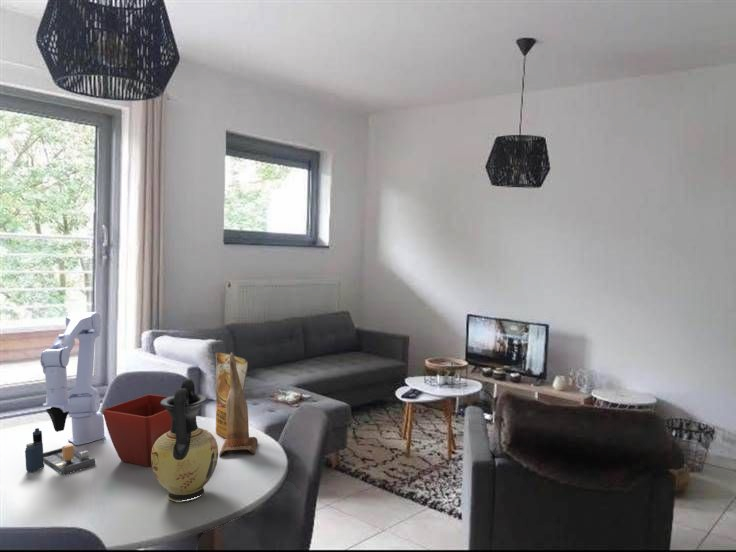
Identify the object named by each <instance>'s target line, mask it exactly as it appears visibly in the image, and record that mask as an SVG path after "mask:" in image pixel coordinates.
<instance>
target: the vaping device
mask: <svg viewBox="0 0 736 552" xmlns="http://www.w3.org/2000/svg"><path fill="white" fill-rule="evenodd" d="M43 453H44V443H43V432H42V430H40V428H34V431H33V432H32V442H29V443H27V444H26V446H25V450H24V456H25V469H26V471H27V473H34V472H36V471H39V470H41V469H42V468H44V467H45V462H44V458H43ZM40 468H41V469H40ZM38 469H39V470H38Z"/></svg>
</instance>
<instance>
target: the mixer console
mask: <svg viewBox="0 0 736 552" xmlns="http://www.w3.org/2000/svg"><path fill="white" fill-rule="evenodd" d="M43 458H44V463H46V464H47V465H48V466H50V467H51V468H53V469H54V470H56V471H57V470H58V471H57V472H59V473H60V472H61V474H62V475H63V474H65V475H68V474H71V473H70V472H72V473H74V472H73V471H75V472H77V470H78V471H81V470H84V468H85V469H87V468H91V467H94V466H96V458H95V457H93V458H90V453H89V451H88V450H83V451H78V450H76V449H75V448H74V459H71V462H70V463H67V462H66V461H64V460H63V456H62V447H59V448H56V449H53V450H49V451H45V452H43ZM80 469H81V470H80ZM67 473H68V474H67Z"/></svg>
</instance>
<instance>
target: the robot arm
mask: <svg viewBox="0 0 736 552" xmlns="http://www.w3.org/2000/svg"><path fill="white" fill-rule="evenodd" d="M65 326H66V327H65V329H64V331H63V333H62V334H58V335H57V337H56V338H55V339H54V341H53V343H52V344H51V346H50V347H49V348H48V349H47V348H46V349H45V350H43V351H42V352H41V354H40V359H39V361H40V366H41V367H42V373H43V375H44V377H45V389H46V390H45V391H46V398H45V403H42V407H44V408H47V407H50V408H47V409H46V410H45V411H46V412H47V414H48V416H49V417H50V419H51V422H52V427H53V428H54V430H55V431H54V432H56V433H58V432H61V431H64V430H65V426H66V421H67V417H68V416H69V417H68V418H71V430H72V431H71V433H72V438H71V437H70V438H68V439H67V440H68V442H70V443H71V444H74V445H76V446H82V445H85V444H89V443H93V442H96V441H98V440H103V439H105V438H106V437H107V436H106V435H105V418H104V414H103V413H102V412H101V411H99V410H100V407H101V398H100V391H99V390H98V389H97V388H95V387H94V386H93V385H92V382H93V381H92V380H93V367H94V355H95V343H96V338H98V337H101V336H100V334H101V328H102V327H101V326H102V319H101V315H100V314H99V312H98V311H90V312H88V311H87V312H68V314H67V315H66V317H65ZM75 339H78V341H79V343H78V353H77V364H76V365H77V366H76V376H75V377H76V378H75V386H74V387H73V388H72V389H70V390H69V389H68V377H67V375H68V374H67V373H68V372H67V366H68V365H69V362H70V357H71V352H72V350H73V349H74V346H75V345H76V340H75Z"/></svg>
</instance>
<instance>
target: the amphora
mask: <svg viewBox="0 0 736 552" xmlns="http://www.w3.org/2000/svg"><path fill="white" fill-rule="evenodd" d="M195 391H196V389H195V383H194V381H193V379H189V378H187V379H184V380H183V381H182V382H181V386H180V388H177V389H176V391H175V392H174V395H171V396H166V397H167V398H165V399H163V400H162V401H161V403H160V404H161V405H162V406H163V407H166V408H167V412H168V413H169V414H170V415H171V417H172V427H171V430H170V431H169V432H167V433H165V434H163V435H162V436H160V437H159V438H158V439H157V440H156V442H155V444H154V445H153V448H152V452H151V464H152V466H151V469H152V472H153V474H154V477H155V478H156V480H157V481H158V483H159V484H160V486H161V487H163V488H164V489H165V490H167V491H168V493H167V499H168V500H169V499H170V500H172V501H182V500H187V499H191V498H194V497H197V496H200V495H202V494H203V493H204V494H205V488H204V487H205V485H206V484H208V482H210V480H211V478H212V476H213V475H214V472H215V470H216V467H217V465H218V460H219V459H218V458H219V446H218V442H217V440H216V438H215V436H214V435H213V434H212V432H210V431H208V430H207V429H204V428H201V427H199V426H198V424H197V423H198V422H197V414H198V412H199V411H200V409H201V407H202V404H204V403H205V402H206V401H207V397H206V396H205V395H203V394H199V393H195ZM204 494H203V495H204ZM203 495H202V496H203ZM170 500H169V501H170ZM172 501H171V502H172Z"/></svg>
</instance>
